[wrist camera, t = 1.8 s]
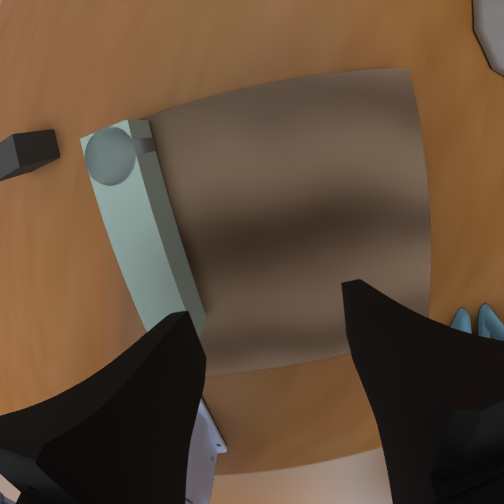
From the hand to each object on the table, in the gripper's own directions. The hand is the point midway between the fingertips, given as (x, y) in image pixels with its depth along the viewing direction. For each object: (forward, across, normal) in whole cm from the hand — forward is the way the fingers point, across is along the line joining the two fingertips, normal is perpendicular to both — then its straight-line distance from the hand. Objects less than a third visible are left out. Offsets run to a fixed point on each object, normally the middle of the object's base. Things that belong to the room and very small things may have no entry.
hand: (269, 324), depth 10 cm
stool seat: (+9, -1, 0) cm, 9 cm away
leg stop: (+9, +14, -9) cm, 19 cm away
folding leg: (+7, +5, -2) cm, 9 cm away
